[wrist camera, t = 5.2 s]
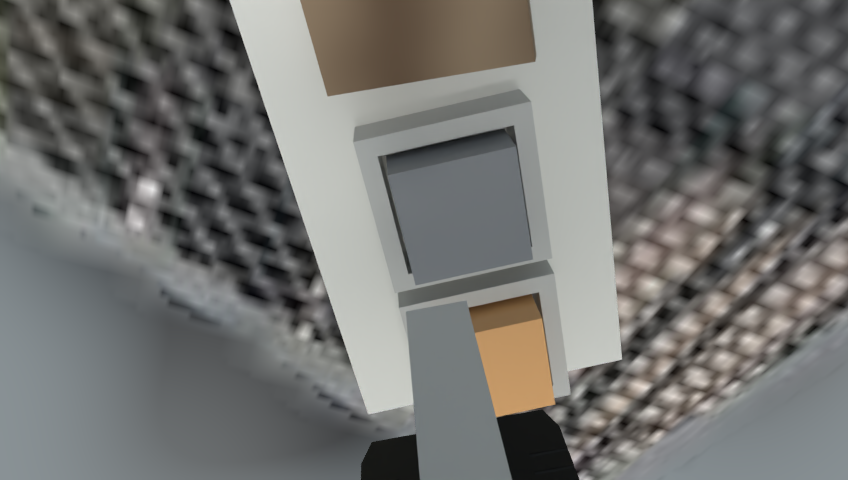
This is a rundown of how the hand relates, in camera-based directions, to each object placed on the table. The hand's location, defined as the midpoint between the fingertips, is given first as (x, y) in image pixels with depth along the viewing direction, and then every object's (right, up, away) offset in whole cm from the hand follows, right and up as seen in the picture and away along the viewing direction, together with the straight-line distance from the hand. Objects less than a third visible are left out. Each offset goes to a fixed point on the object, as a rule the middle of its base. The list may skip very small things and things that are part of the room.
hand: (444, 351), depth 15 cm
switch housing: (+1, +7, +15) cm, 17 cm away
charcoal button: (+1, +5, +11) cm, 12 cm away
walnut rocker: (-1, +11, +7) cm, 13 cm away
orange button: (+3, -2, +15) cm, 15 cm away
